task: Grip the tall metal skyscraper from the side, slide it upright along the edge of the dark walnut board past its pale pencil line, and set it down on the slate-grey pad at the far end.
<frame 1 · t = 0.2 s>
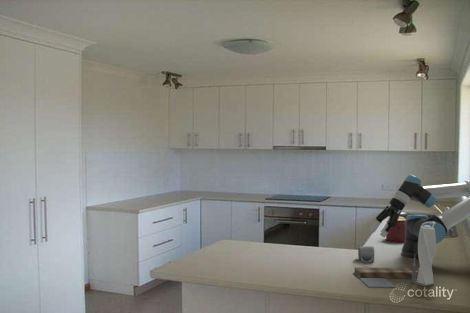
hand: (376, 233, 242), 15 cm above the countertop, tool tilted 35°, fingers open, 13 cm apart
canister: (396, 240, 296), on the countertop
end pad: (376, 283, 204), on the countertop
ceramic mug: (366, 261, 243), on the countertop
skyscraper: (424, 283, 206), on the countertop
walnut board: (390, 275, 217), on the countertop
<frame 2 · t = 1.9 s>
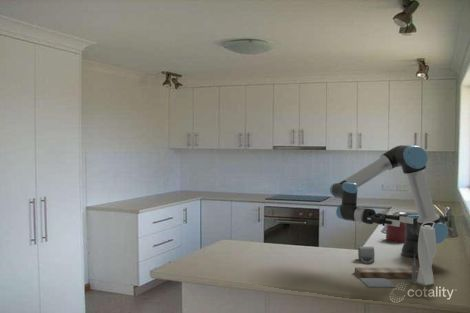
hand: (406, 222, 212), 26 cm above the countertop, tool horizontal, fingers open, 13 cm apart
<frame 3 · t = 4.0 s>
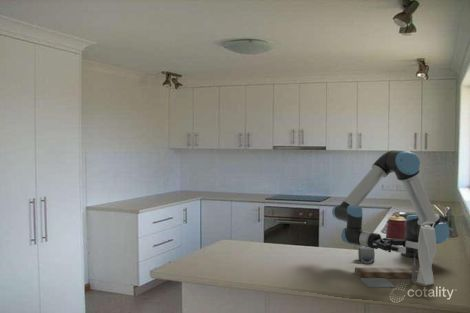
hand: (412, 248, 209), 15 cm above the countertop, tool horizontal, fingers open, 13 cm apart
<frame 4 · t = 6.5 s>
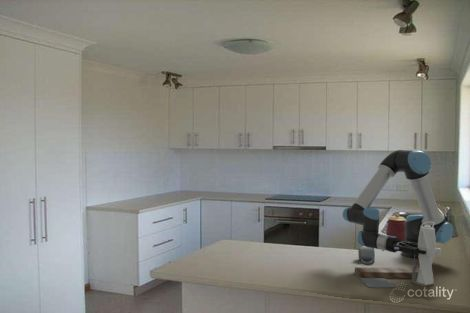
hand: (437, 252, 202), 15 cm above the countertop, tool horizontal, fingers closed on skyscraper, 6 cm apart
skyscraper: (424, 283, 206), on the countertop, touching gripper
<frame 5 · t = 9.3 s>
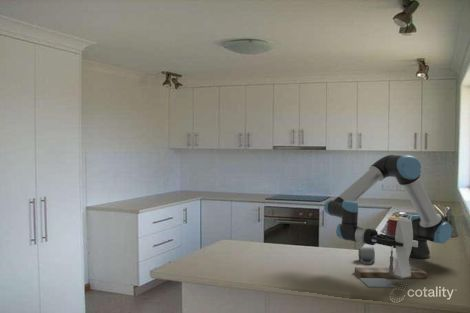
hand: (414, 245, 200), 19 cm above the countertop, tool horizontal, fingers closed on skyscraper, 6 cm apart
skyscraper: (401, 276, 204), point 3 cm above the countertop, touching gripper
when the fingers open (16 cm above the countertop, at t = 12.3 s): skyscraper stays where it is, resting on end pad.
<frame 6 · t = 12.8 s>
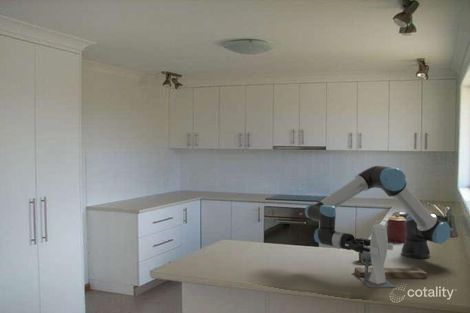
hand: (385, 249, 202), 16 cm above the countertop, tool horizontal, fingers open, 13 cm apart
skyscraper: (376, 282, 204), resting on end pad
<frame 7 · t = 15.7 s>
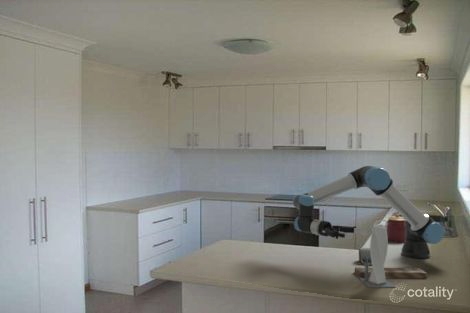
hand: (359, 234, 216), 19 cm above the countertop, tool horizontal, fingers open, 13 cm apart
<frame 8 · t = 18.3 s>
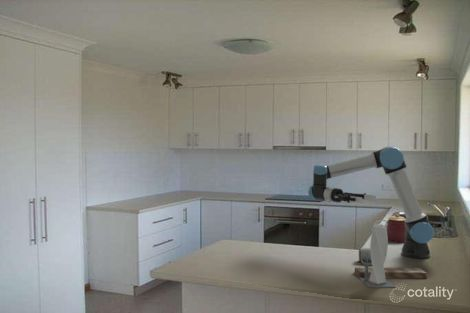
hand: (368, 199, 234), 34 cm above the countertop, tool horizontal, fingers open, 13 cm apart
at the end: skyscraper inside the target area (0.2 cm from its centre), on the countertop; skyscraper tilted 0°; the gripper is holding nothing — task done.
